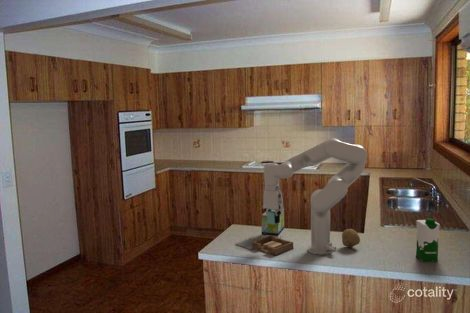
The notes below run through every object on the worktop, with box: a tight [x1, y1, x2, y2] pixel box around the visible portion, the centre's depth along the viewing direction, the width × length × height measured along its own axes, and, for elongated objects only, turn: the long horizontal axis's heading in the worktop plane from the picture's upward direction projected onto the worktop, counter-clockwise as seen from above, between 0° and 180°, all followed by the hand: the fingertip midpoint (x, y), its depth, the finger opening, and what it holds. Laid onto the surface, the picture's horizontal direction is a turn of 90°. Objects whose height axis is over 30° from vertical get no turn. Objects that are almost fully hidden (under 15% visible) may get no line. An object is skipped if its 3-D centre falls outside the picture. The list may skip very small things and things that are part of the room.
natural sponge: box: [341, 228, 361, 249], centre depth 211 cm, size 9×9×10 cm
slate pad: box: [235, 238, 258, 251], centre depth 220 cm, size 12×12×1 cm
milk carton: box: [415, 217, 441, 262], centre depth 193 cm, size 9×9×20 cm
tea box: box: [261, 209, 285, 239], centre depth 230 cm, size 15×10×15 cm, turn 161°
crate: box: [252, 236, 294, 257], centre depth 213 cm, size 16×14×4 cm
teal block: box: [267, 210, 280, 225], centre depth 211 cm, size 4×4×6 cm
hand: (273, 221), depth 211 cm, fingers closed on teal block, 4 cm apart
